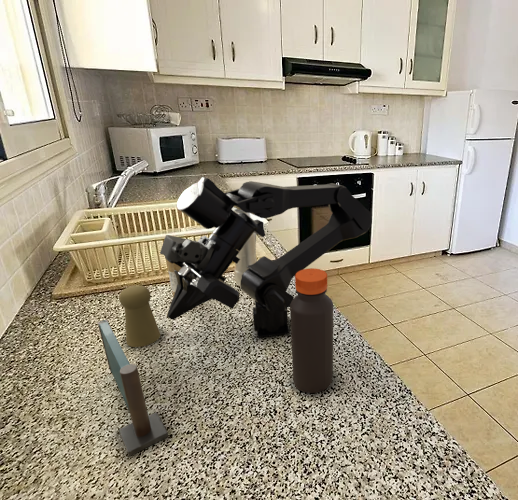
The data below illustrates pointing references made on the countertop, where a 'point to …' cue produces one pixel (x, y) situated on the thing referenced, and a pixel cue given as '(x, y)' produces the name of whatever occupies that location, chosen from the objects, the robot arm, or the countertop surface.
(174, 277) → the sprinkles bottle
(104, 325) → the door
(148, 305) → the olive brown knobbed cone
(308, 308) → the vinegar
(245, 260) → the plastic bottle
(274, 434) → the countertop surface
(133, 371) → the hinge post
